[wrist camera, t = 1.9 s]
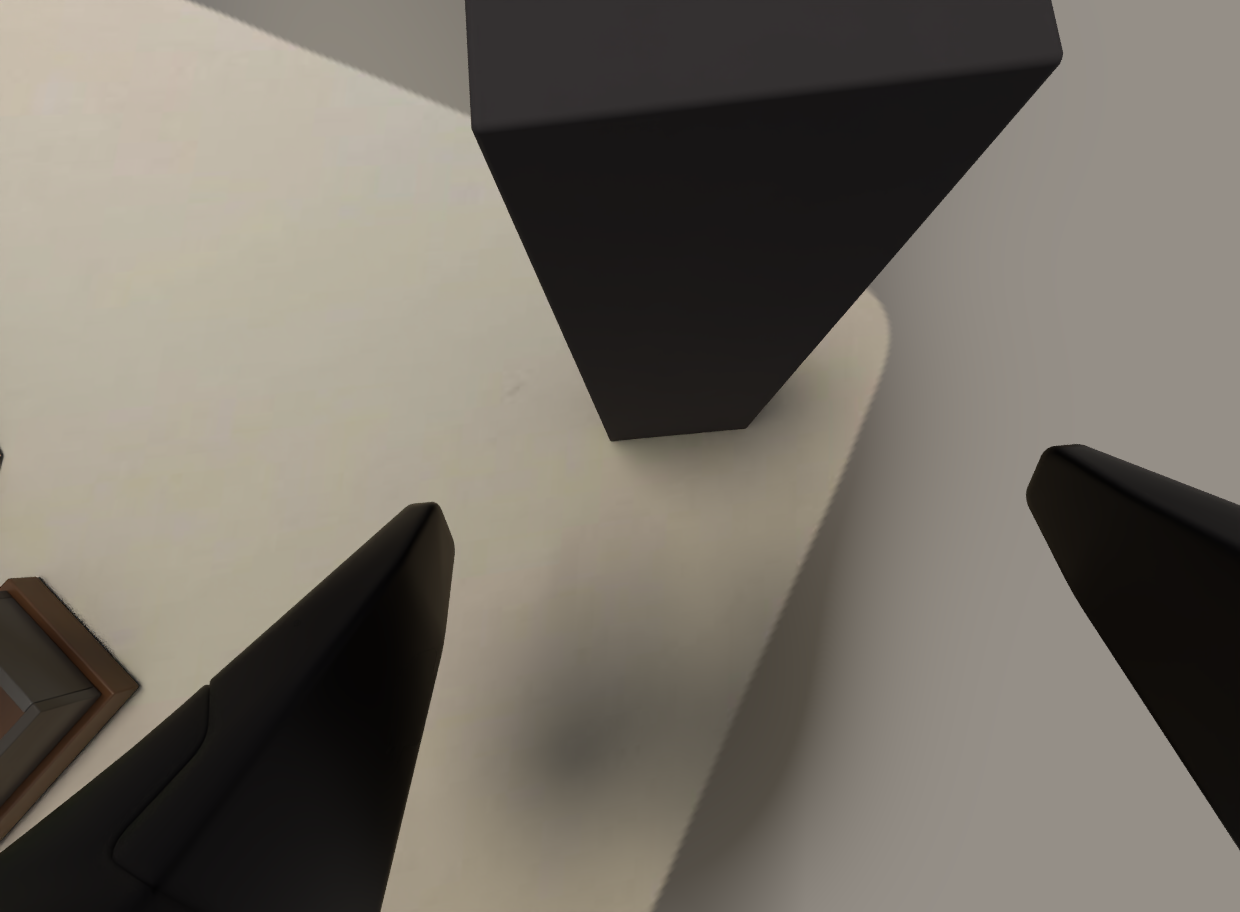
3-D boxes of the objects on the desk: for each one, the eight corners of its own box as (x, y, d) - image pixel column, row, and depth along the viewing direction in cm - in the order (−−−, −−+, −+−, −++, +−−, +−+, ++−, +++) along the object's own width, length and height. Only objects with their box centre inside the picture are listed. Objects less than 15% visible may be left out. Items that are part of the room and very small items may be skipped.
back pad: (746, 428, 20) (1070, 57, 5) (609, 441, 21) (468, 129, 5) (737, 349, 21) (1001, -238, 5) (603, 362, 21) (454, -160, 5)
